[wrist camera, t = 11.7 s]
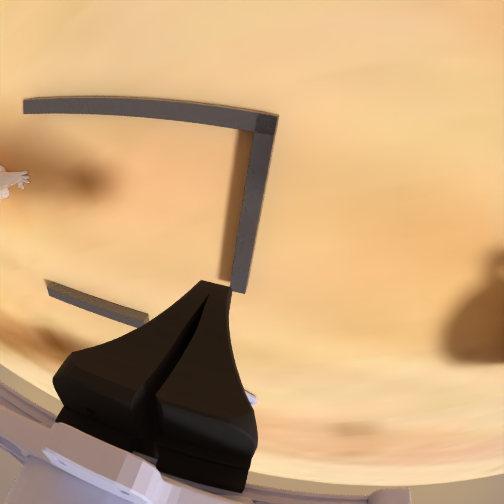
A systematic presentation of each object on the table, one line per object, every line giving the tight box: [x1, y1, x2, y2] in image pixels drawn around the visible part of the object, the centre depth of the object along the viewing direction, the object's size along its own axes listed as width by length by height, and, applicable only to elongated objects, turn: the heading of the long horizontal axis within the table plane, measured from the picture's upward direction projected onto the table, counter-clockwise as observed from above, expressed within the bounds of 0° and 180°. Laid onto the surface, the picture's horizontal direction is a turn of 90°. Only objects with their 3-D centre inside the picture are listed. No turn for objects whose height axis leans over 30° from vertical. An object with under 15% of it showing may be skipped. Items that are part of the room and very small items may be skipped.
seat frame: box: [24, 96, 279, 328], centre depth 24 cm, size 20×21×1 cm
